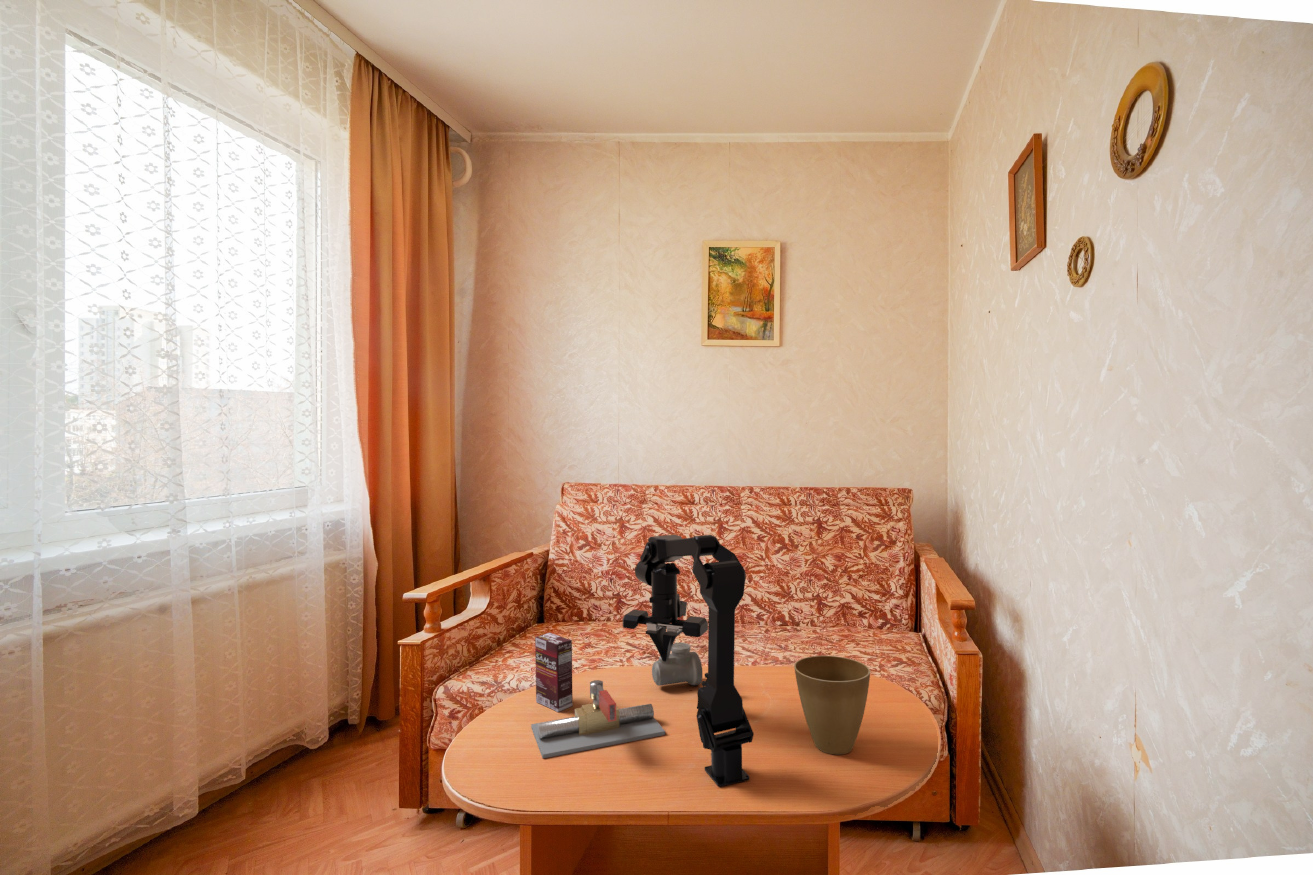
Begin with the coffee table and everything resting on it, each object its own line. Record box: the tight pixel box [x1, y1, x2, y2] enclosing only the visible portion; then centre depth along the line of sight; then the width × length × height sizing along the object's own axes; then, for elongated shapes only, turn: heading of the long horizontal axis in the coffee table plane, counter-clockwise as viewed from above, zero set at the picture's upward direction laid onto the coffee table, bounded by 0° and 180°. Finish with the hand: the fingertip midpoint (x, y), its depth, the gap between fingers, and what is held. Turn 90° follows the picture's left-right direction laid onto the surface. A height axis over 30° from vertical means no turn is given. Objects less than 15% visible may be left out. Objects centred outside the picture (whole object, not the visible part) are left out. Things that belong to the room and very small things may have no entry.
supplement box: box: [534, 632, 574, 713], centre depth 148 cm, size 9×5×16 cm, turn 48°
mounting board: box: [530, 704, 666, 759], centre depth 134 cm, size 26×14×1 cm, turn 110°
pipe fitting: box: [651, 642, 703, 687], centre depth 158 cm, size 12×8×10 cm
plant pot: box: [793, 655, 871, 755], centre depth 127 cm, size 15×15×16 cm
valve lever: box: [589, 679, 617, 722], centre depth 129 cm, size 13×3×3 cm, turn 20°
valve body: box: [537, 699, 655, 739], centre depth 134 cm, size 25×4×6 cm, turn 110°
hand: (665, 660), depth 140 cm, fingers closed
